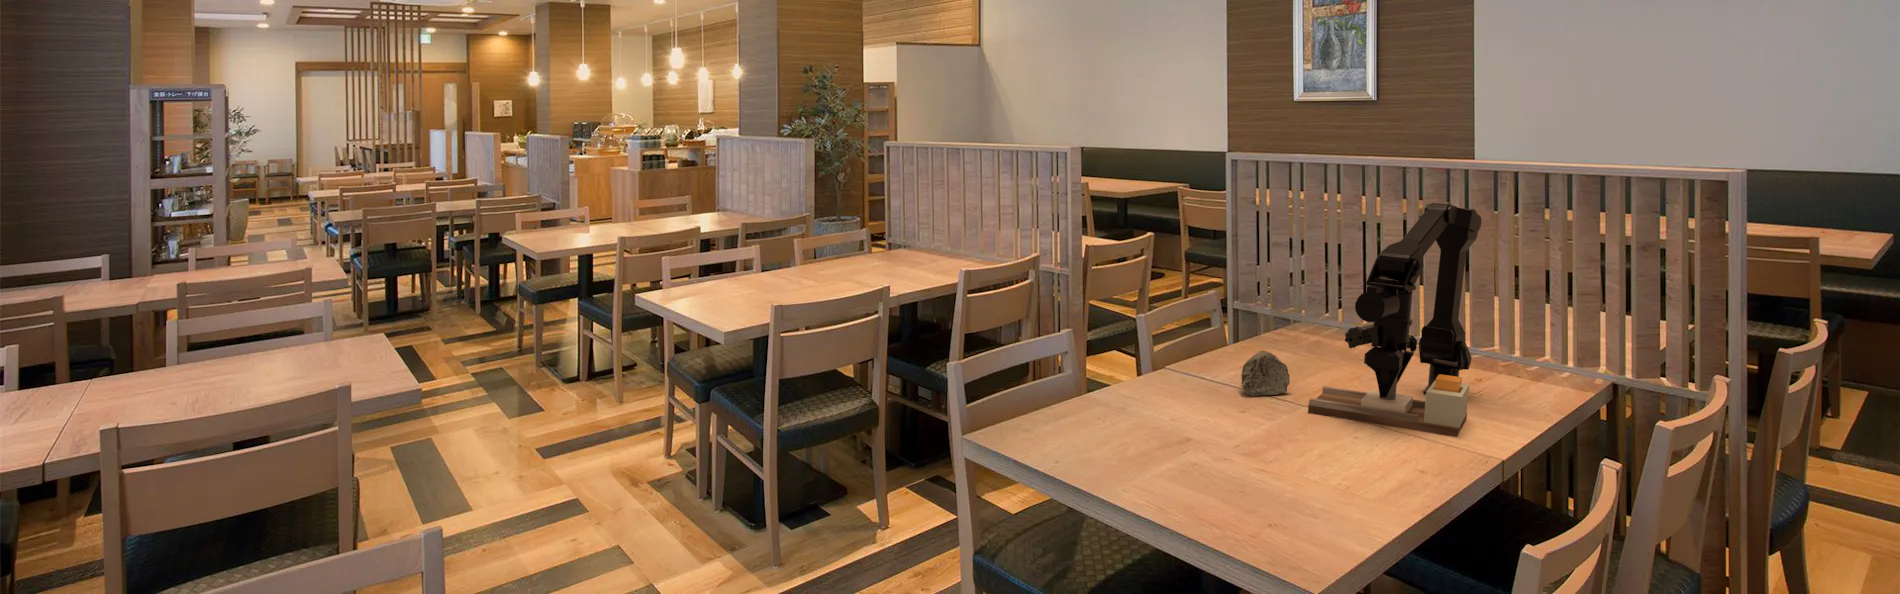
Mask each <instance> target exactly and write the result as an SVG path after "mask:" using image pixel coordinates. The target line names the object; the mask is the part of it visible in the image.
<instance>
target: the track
mask: <svg viewBox="0 0 1900 594" xmlns="http://www.w3.org/2000/svg"><path fill="white" fill-rule="evenodd" d="M1367 393H1368V392H1366V391H1358V390H1351V389H1346V388H1339V387H1338V388H1337V387H1334V386H1333V387H1332V386H1325V385H1324V386H1323V387H1322V392H1321V393H1320V395H1318V396H1317V397H1316V398H1313V397H1310V398H1309V399H1308V400H1309V401H1308V405H1307V406H1308V407H1307V409H1308V410H1307V413H1308V414H1315V415H1321V416H1327V417H1333V418H1340V419H1344V420H1351V421H1356V422H1363V423H1370V424H1375V425H1382V426H1388V427H1394V428H1399V429H1400V428H1401V429H1406V430H1412V431H1418V432H1424V433H1430V434H1436V435H1442V436H1449V437H1453V438H1458V436H1459V435H1460V433H1461V431H1462V429H1463V428H1464V426H1465V425H1466V422H1467V419H1468V413H1467V414H1466V416H1465V418H1464V420H1463V421H1462V423H1461V425H1460V427H1459V428H1456V427H1450V426H1443V425H1437V424H1431V423H1425V422H1424V412H1425V400H1421V399H1420V400H1419V399H1414V398H1413V403H1412V407H1411V408H1410V410H1409V411H1408V412H1407V413H1403V412H1396V411H1390V410H1384V409H1377V408H1371V407H1364V406H1361V399H1362V398H1363V397H1364V396H1365V395H1366V394H1367Z"/></svg>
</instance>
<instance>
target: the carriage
mask: <svg viewBox="0 0 1900 594" xmlns="http://www.w3.org/2000/svg"><path fill="white" fill-rule="evenodd" d="M1397 385H1398V383H1397V378H1396V380H1395V382H1394V384H1393V386H1392V388H1391V390H1390V392H1389V393H1388V395H1387V397H1386V398H1384V397H1380V393H1379V390H1372V389H1369V391H1368V392H1367V394H1366V395H1365V396H1364V397H1363V398H1362V399H1361V406H1364V407H1371V408H1377V409H1384V410H1390V411H1396V412H1403V413H1407V412H1408V411H1409V410H1410V408H1411V407H1412V403H1413V399H1414V396H1413V395H1407V394H1399V393H1397V387H1398V386H1397Z"/></svg>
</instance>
